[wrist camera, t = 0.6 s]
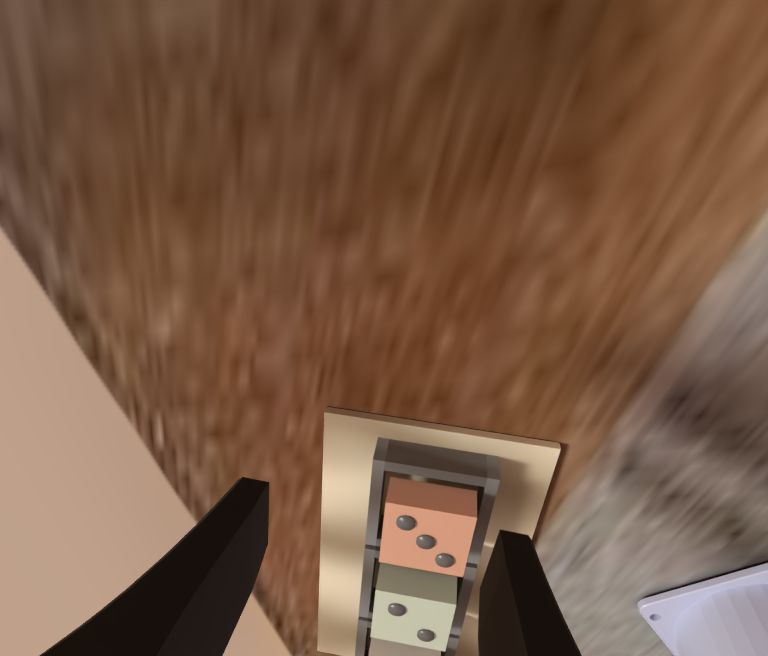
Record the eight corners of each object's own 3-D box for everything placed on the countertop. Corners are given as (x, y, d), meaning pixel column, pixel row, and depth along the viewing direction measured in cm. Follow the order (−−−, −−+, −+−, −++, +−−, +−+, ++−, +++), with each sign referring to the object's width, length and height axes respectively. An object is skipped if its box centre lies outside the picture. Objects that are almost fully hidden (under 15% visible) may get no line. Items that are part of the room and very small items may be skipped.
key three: (463, 549, 23) (463, 579, 22) (383, 535, 23) (378, 564, 22) (476, 491, 21) (477, 520, 20) (390, 476, 22) (385, 504, 20)
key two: (446, 623, 26) (445, 653, 24) (375, 609, 26) (369, 639, 25) (457, 576, 24) (456, 607, 23) (380, 562, 24) (375, 592, 23)
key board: (485, 676, 31) (485, 710, 29) (319, 644, 31) (311, 675, 30) (559, 442, 22) (566, 473, 20) (326, 406, 23) (316, 433, 21)
